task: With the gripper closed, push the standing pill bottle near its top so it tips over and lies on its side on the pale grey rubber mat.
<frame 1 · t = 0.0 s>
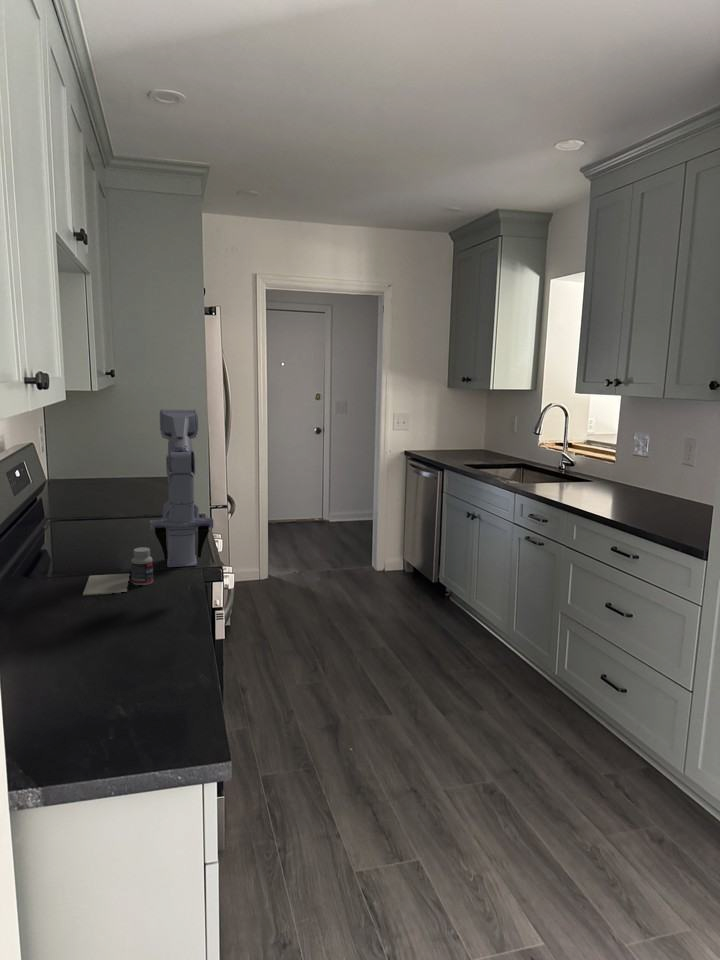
hand: (182, 557, 156), 10 cm above the worktop, tool pointing down, fingers open, 7 cm apart
pill bottle: (142, 583, 167), on the worktop
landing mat: (107, 584, 165), on the worktop
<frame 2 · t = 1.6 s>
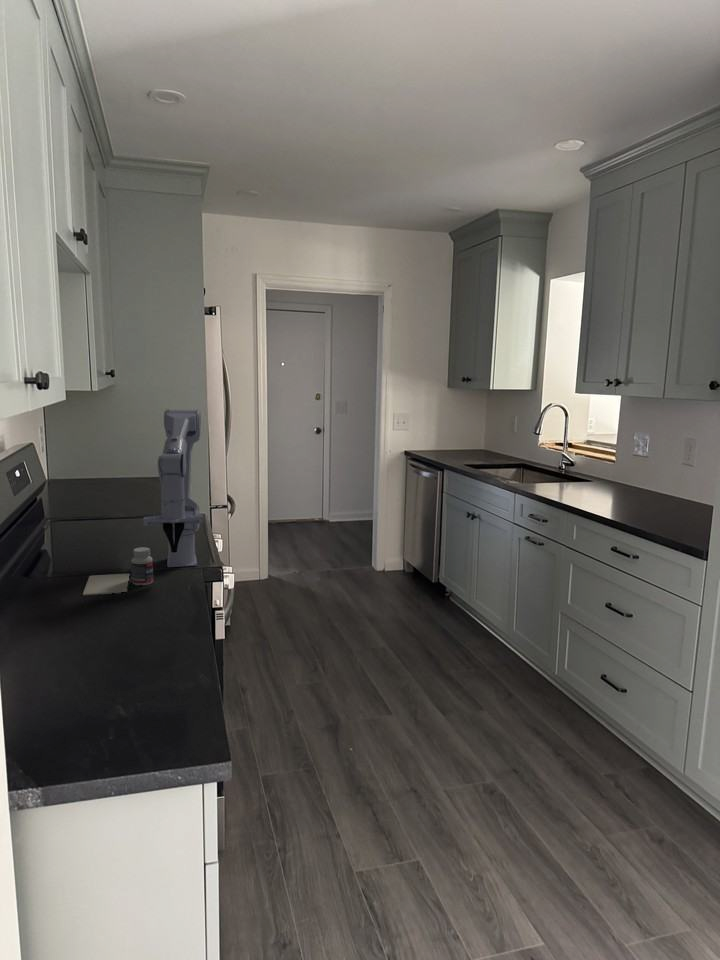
hand: (174, 551, 168), 8 cm above the worktop, tool pointing down, fingers closed
nothing on the worktop moved.
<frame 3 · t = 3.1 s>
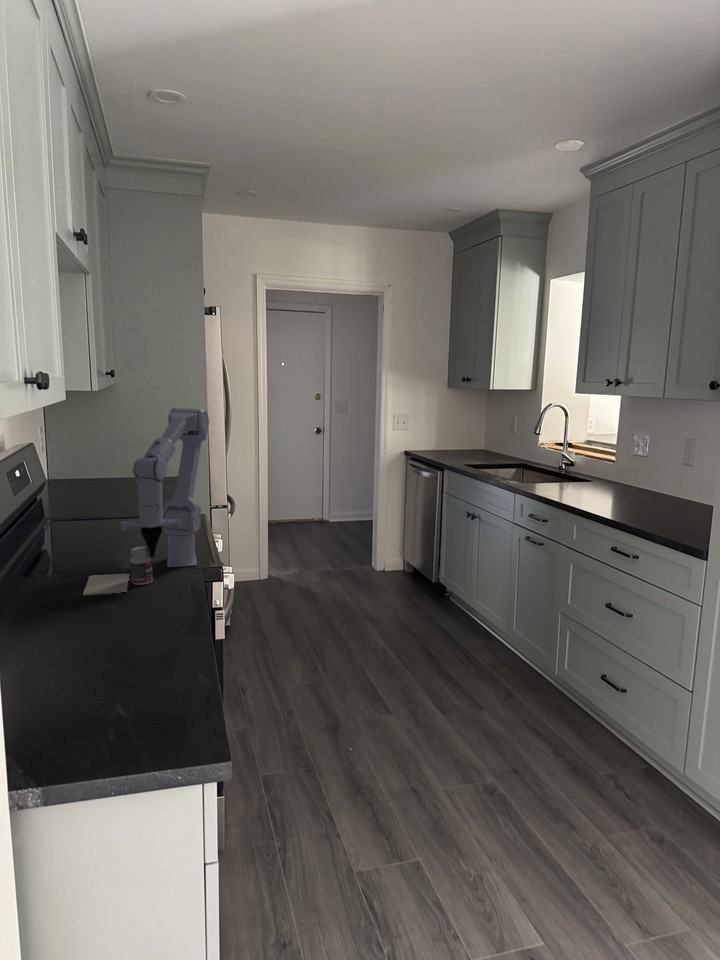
hand: (152, 556, 167), 7 cm above the worktop, tool pointing down, fingers closed, pressing on pill bottle
pill bottle: (142, 582, 167), on the worktop, touching gripper
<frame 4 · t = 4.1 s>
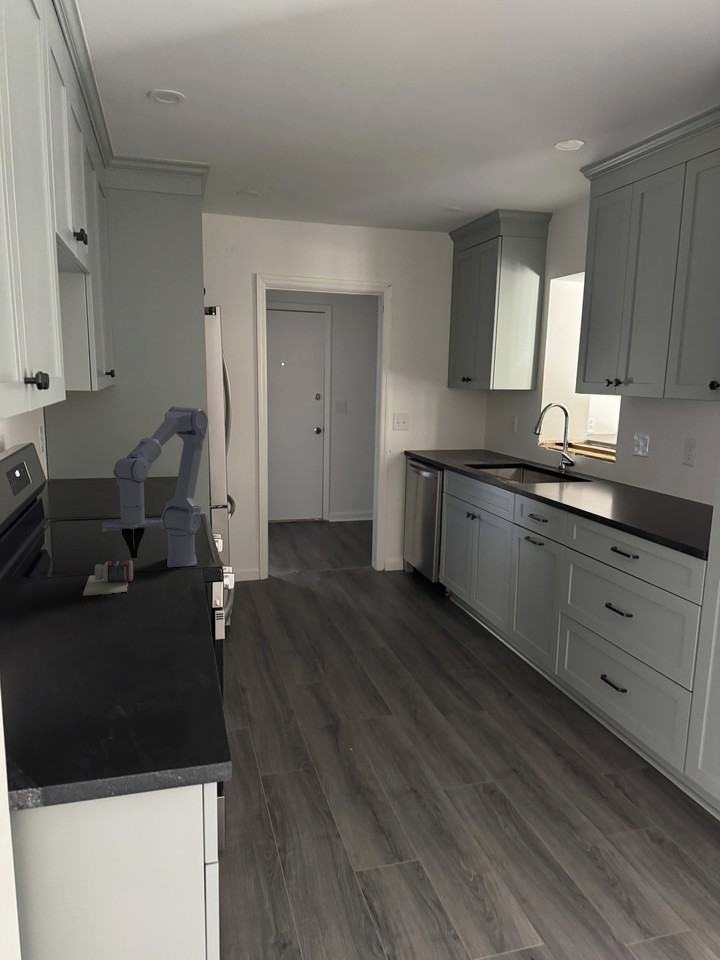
hand: (134, 557, 166), 7 cm above the worktop, tool pointing down, fingers closed
pill bottle: (133, 570, 167), point 3 cm above the worktop, touching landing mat
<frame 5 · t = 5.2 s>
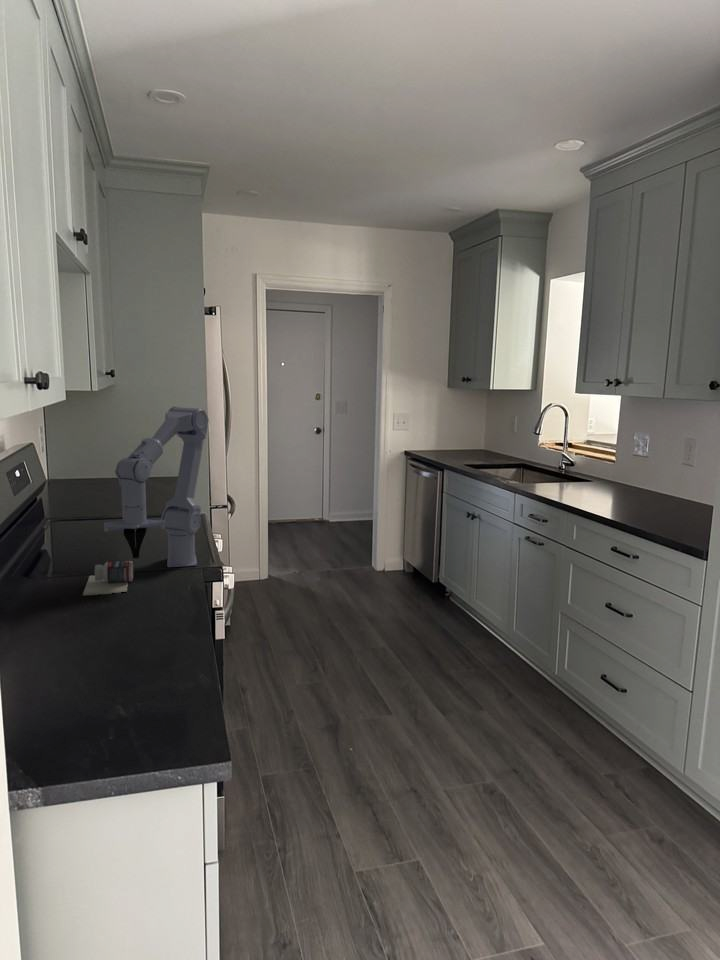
hand: (136, 557, 166), 7 cm above the worktop, tool pointing down, fingers closed
nothing on the worktop moved.
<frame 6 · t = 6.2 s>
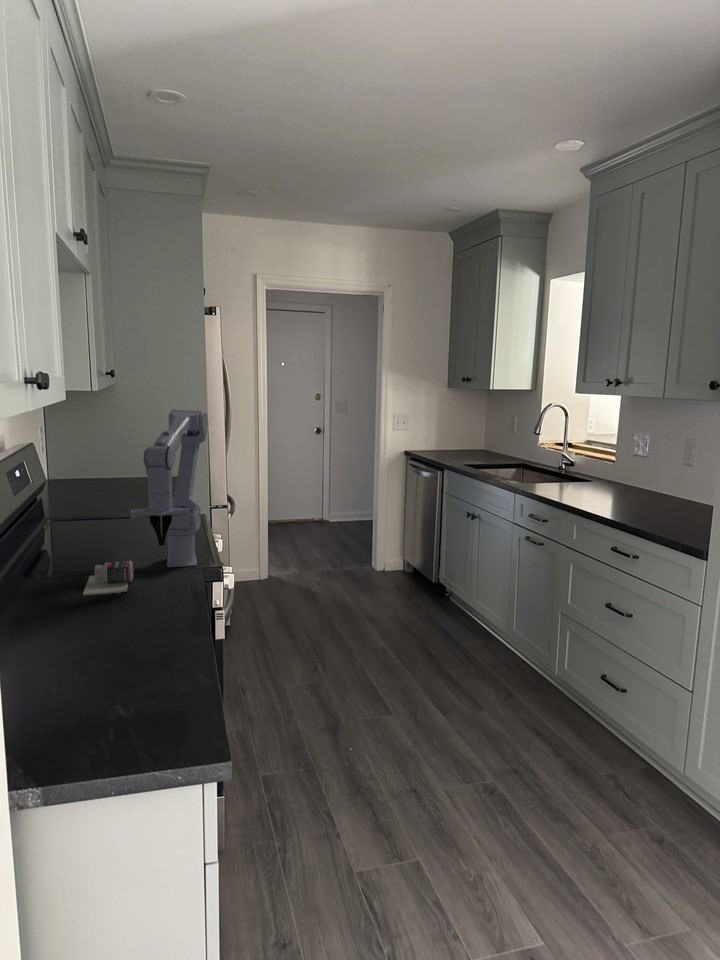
hand: (161, 544, 167), 10 cm above the worktop, tool pointing down, fingers closed
nothing on the worktop moved.
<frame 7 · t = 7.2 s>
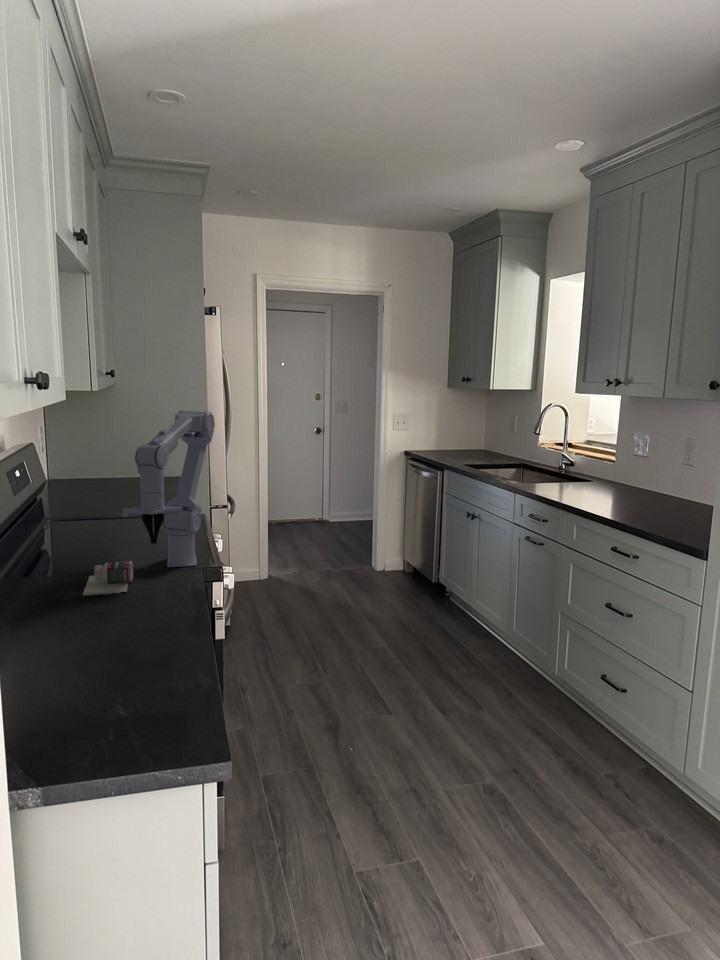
hand: (154, 542, 168), 10 cm above the worktop, tool pointing down, fingers closed
nothing on the worktop moved.
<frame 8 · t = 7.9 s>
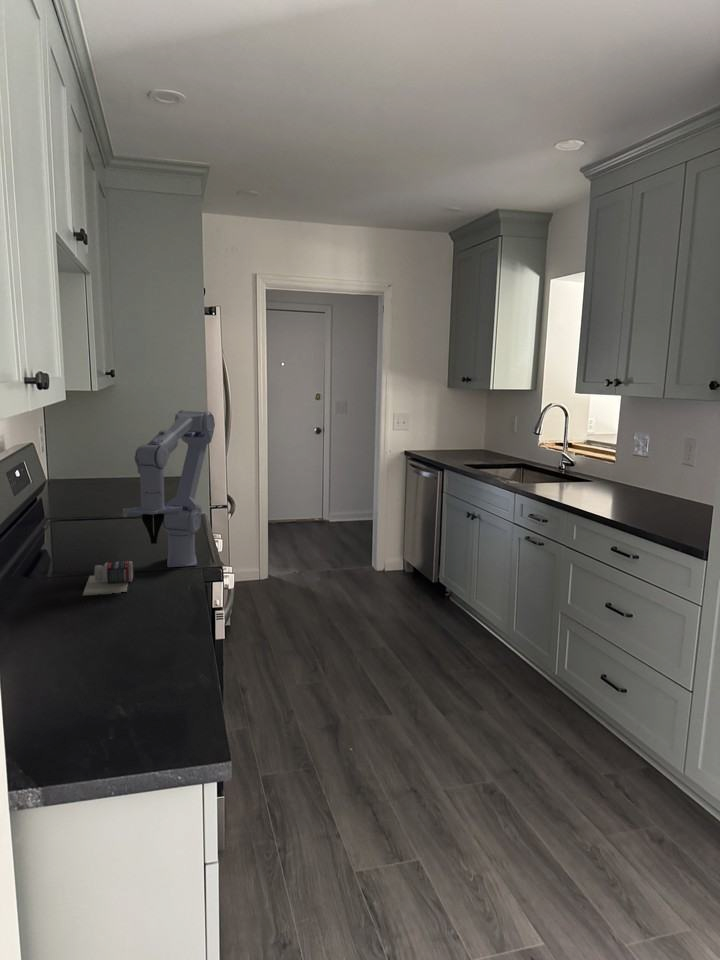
hand: (154, 542, 168), 10 cm above the worktop, tool pointing down, fingers closed
nothing on the worktop moved.
at the end: pill bottle tilted 90°; pill bottle inside the target area (3.8 cm from its centre), point 3.0 cm above the worktop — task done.
